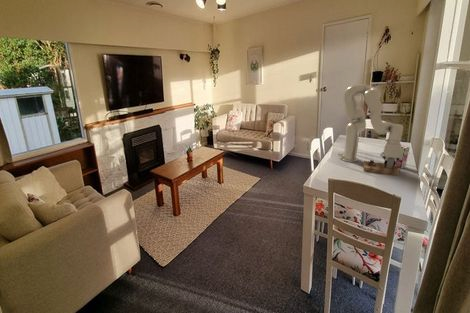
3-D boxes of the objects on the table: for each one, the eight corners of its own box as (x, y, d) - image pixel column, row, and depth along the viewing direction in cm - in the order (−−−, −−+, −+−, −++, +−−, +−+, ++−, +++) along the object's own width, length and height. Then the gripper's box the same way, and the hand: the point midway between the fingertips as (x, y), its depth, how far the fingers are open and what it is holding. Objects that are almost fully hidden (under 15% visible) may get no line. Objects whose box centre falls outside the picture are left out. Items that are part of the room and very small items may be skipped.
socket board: (363, 171, 182) (364, 165, 180) (363, 164, 194) (363, 159, 192) (398, 175, 173) (399, 169, 171) (395, 168, 185) (396, 162, 183)
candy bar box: (405, 167, 184) (410, 147, 179) (400, 169, 183) (405, 148, 177) (391, 162, 194) (395, 143, 189) (387, 163, 193) (391, 144, 187)
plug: (385, 169, 180) (387, 159, 177) (385, 167, 183) (387, 157, 180) (392, 170, 178) (394, 159, 175) (391, 168, 181) (393, 157, 179)
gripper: (380, 142, 173) (376, 165, 180) (409, 144, 167) (403, 168, 173) (379, 139, 180) (375, 162, 186) (407, 141, 173) (401, 165, 179)
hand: (389, 165), depth 180 cm, fingers closed on plug, 4 cm apart
